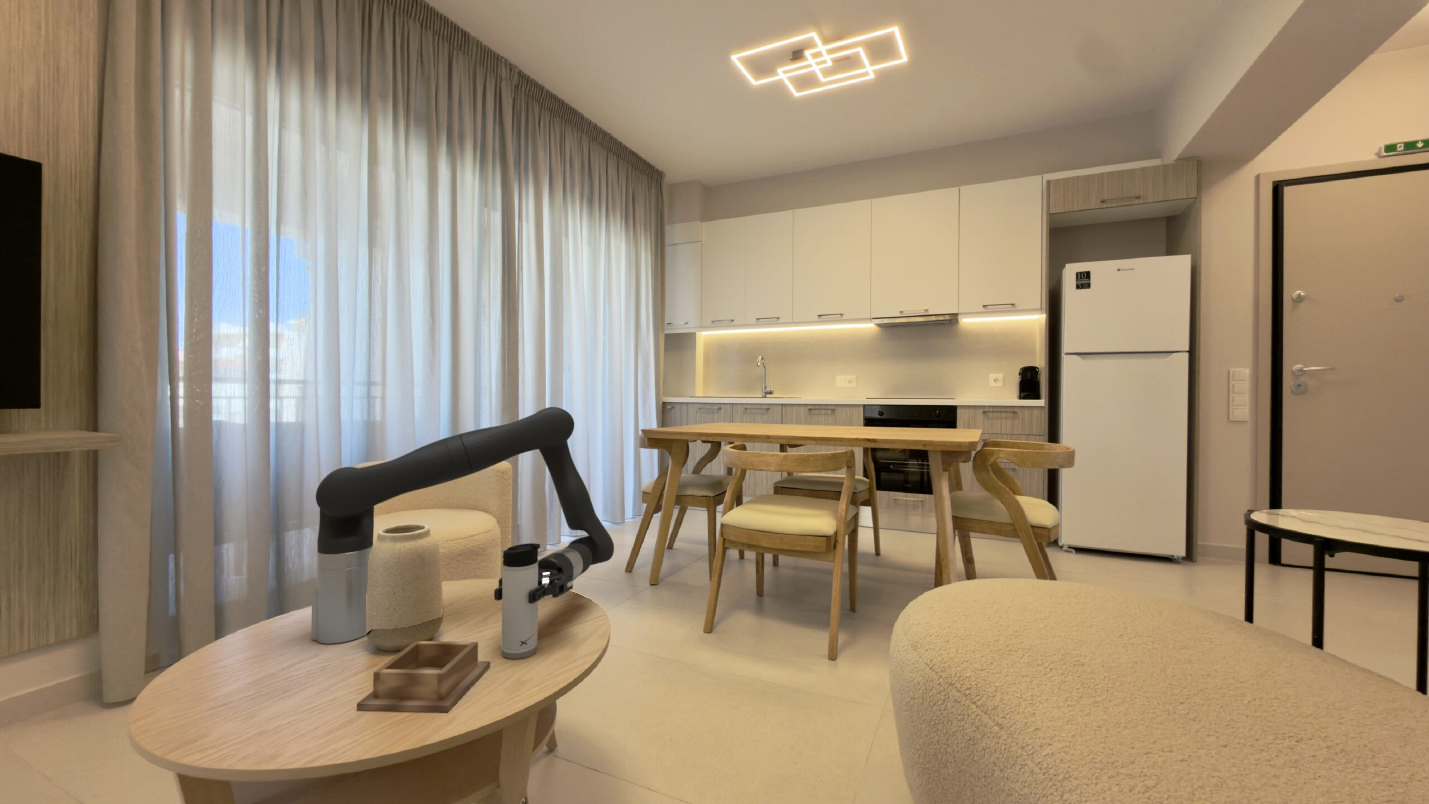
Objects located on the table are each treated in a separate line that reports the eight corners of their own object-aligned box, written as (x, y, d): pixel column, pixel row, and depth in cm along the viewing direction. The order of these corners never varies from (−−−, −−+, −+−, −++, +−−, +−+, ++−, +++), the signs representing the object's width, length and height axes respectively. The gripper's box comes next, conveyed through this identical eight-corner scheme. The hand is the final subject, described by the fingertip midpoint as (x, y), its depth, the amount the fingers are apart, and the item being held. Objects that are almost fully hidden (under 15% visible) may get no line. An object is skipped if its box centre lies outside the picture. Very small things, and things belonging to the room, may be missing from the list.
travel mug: (532, 660, 97) (533, 549, 97) (495, 659, 97) (497, 548, 97) (543, 644, 103) (544, 540, 103) (509, 643, 104) (510, 540, 104)
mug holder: (356, 710, 81) (357, 676, 81) (412, 665, 95) (412, 637, 95) (448, 712, 80) (448, 678, 81) (490, 667, 94) (490, 638, 95)
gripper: (527, 550, 116) (478, 573, 100) (589, 554, 113) (549, 579, 97) (527, 585, 116) (478, 614, 100) (589, 590, 113) (549, 621, 97)
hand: (513, 596), depth 98 cm, fingers closed on travel mug, 6 cm apart
